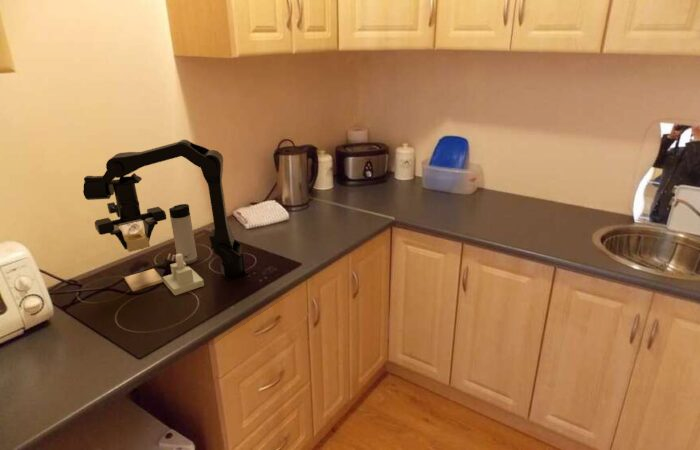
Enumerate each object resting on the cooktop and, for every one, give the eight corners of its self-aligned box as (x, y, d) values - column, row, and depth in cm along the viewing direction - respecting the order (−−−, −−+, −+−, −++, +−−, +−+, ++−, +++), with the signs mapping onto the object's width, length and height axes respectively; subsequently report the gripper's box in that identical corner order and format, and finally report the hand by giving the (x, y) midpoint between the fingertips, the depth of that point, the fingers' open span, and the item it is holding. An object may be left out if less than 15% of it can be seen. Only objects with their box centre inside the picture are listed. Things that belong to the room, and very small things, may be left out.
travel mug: (190, 265, 154) (181, 209, 146) (174, 263, 156) (164, 207, 148) (202, 257, 160) (193, 203, 152) (185, 255, 162) (176, 201, 154)
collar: (144, 240, 144) (142, 231, 143) (149, 246, 140) (148, 237, 139) (123, 245, 141) (121, 236, 140) (129, 252, 137) (127, 243, 135)
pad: (154, 271, 151) (153, 268, 151) (163, 281, 144) (162, 279, 144) (124, 280, 146) (124, 277, 146) (132, 291, 139) (132, 288, 139)
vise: (192, 273, 149) (187, 245, 145) (204, 285, 142) (199, 256, 138) (163, 282, 144) (158, 253, 140) (174, 295, 137) (169, 265, 133)
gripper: (151, 184, 146) (159, 230, 152) (85, 197, 135) (97, 245, 141) (162, 193, 137) (171, 241, 144) (93, 207, 127) (105, 258, 133)
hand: (136, 246), depth 140 cm, fingers closed on collar, 6 cm apart
